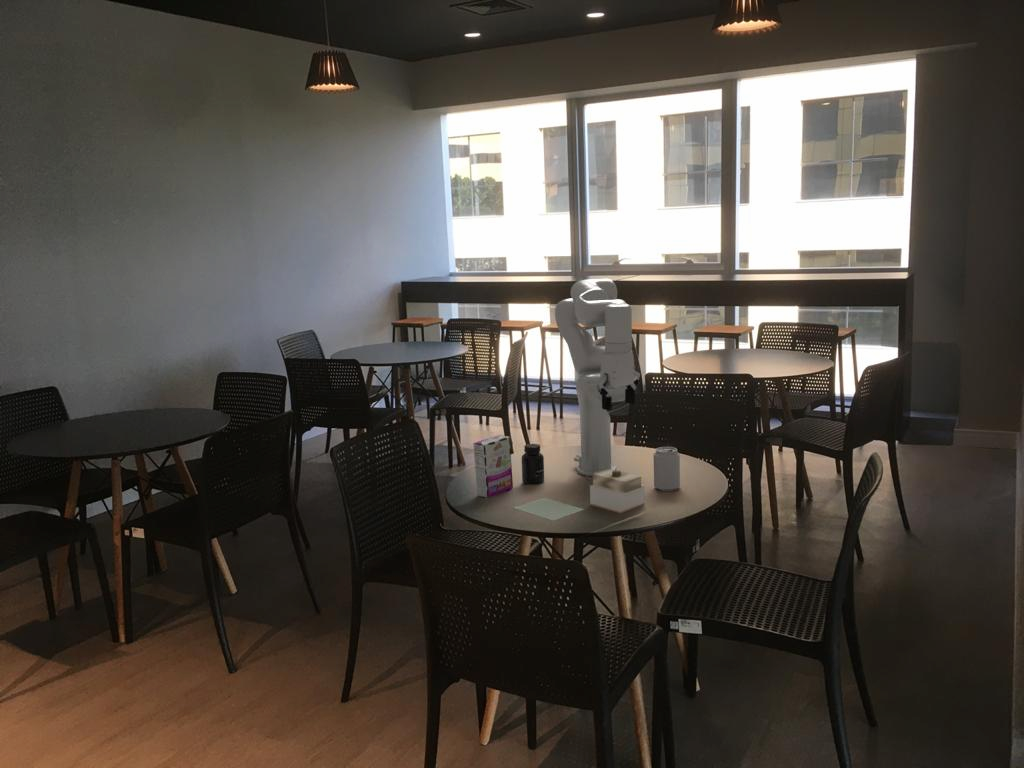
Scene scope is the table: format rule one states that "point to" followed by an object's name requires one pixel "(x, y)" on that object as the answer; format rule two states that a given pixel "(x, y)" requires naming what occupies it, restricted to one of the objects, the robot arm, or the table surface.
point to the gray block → (616, 498)
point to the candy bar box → (493, 466)
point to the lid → (617, 480)
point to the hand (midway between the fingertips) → (618, 406)
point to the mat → (548, 509)
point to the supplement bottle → (532, 465)
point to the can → (666, 469)
